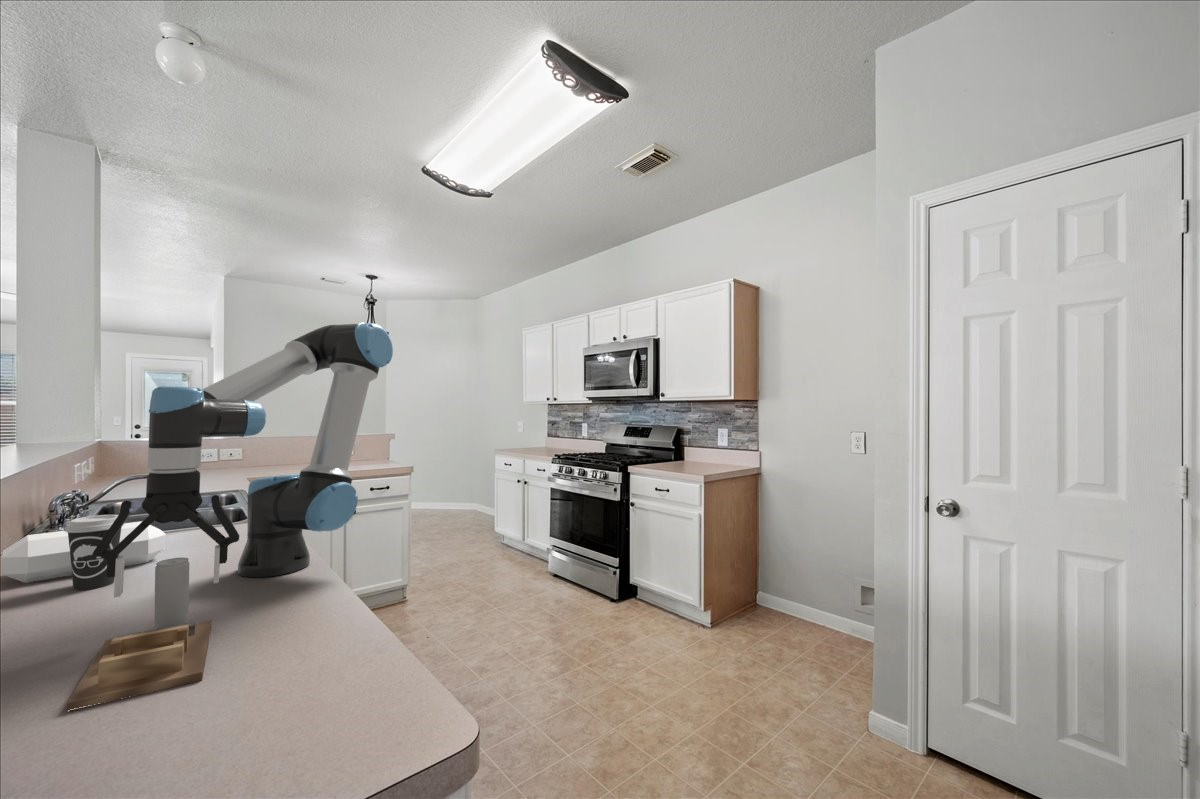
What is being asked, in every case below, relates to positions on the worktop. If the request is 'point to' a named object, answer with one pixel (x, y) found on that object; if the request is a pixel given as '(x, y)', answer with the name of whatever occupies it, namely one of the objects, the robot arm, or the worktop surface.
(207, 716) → the worktop surface
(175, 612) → the beverage can
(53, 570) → the crystal
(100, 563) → the coffee cup
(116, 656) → the board
